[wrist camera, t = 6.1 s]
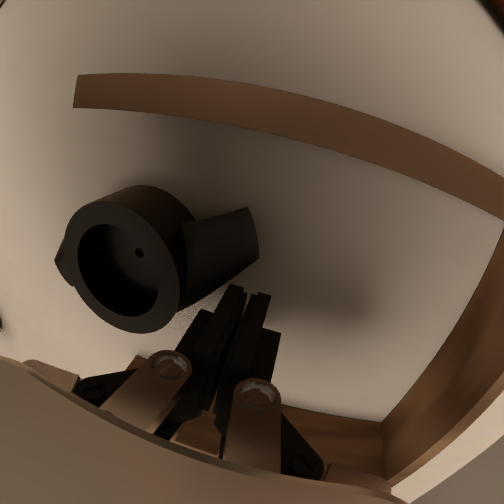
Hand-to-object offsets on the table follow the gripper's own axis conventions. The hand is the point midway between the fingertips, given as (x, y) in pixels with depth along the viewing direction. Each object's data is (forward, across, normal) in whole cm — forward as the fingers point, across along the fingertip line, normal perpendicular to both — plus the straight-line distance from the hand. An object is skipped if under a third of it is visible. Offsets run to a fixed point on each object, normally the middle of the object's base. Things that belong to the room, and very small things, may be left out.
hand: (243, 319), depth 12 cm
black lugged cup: (+2, +5, -1) cm, 6 cm away
